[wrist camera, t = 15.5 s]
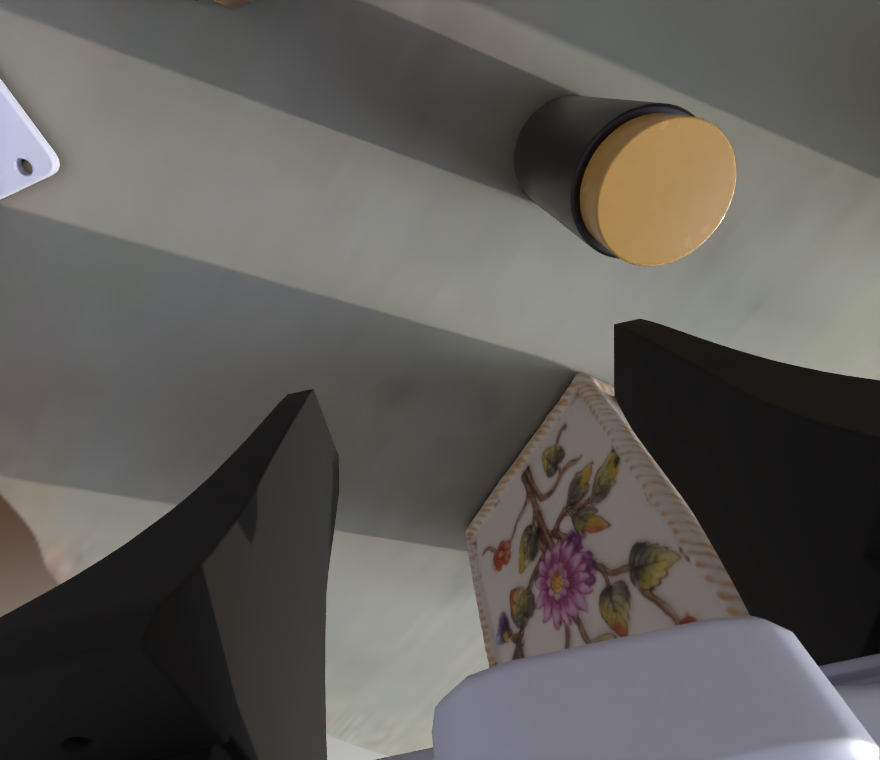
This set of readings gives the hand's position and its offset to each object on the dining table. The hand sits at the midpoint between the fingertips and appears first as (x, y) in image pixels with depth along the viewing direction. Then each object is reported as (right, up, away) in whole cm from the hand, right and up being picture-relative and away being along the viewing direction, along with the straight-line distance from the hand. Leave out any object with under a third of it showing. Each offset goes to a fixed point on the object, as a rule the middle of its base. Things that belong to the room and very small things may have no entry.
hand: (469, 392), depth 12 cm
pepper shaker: (+4, +8, +6) cm, 11 cm away
